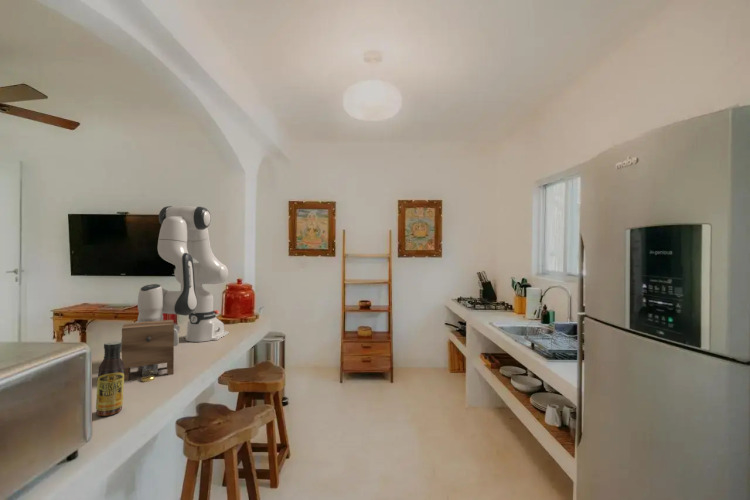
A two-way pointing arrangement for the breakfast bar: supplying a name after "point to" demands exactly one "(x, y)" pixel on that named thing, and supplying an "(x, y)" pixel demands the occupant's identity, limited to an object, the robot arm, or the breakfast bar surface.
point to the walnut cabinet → (148, 345)
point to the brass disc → (147, 378)
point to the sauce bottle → (110, 381)
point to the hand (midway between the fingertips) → (150, 359)
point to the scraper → (150, 369)
